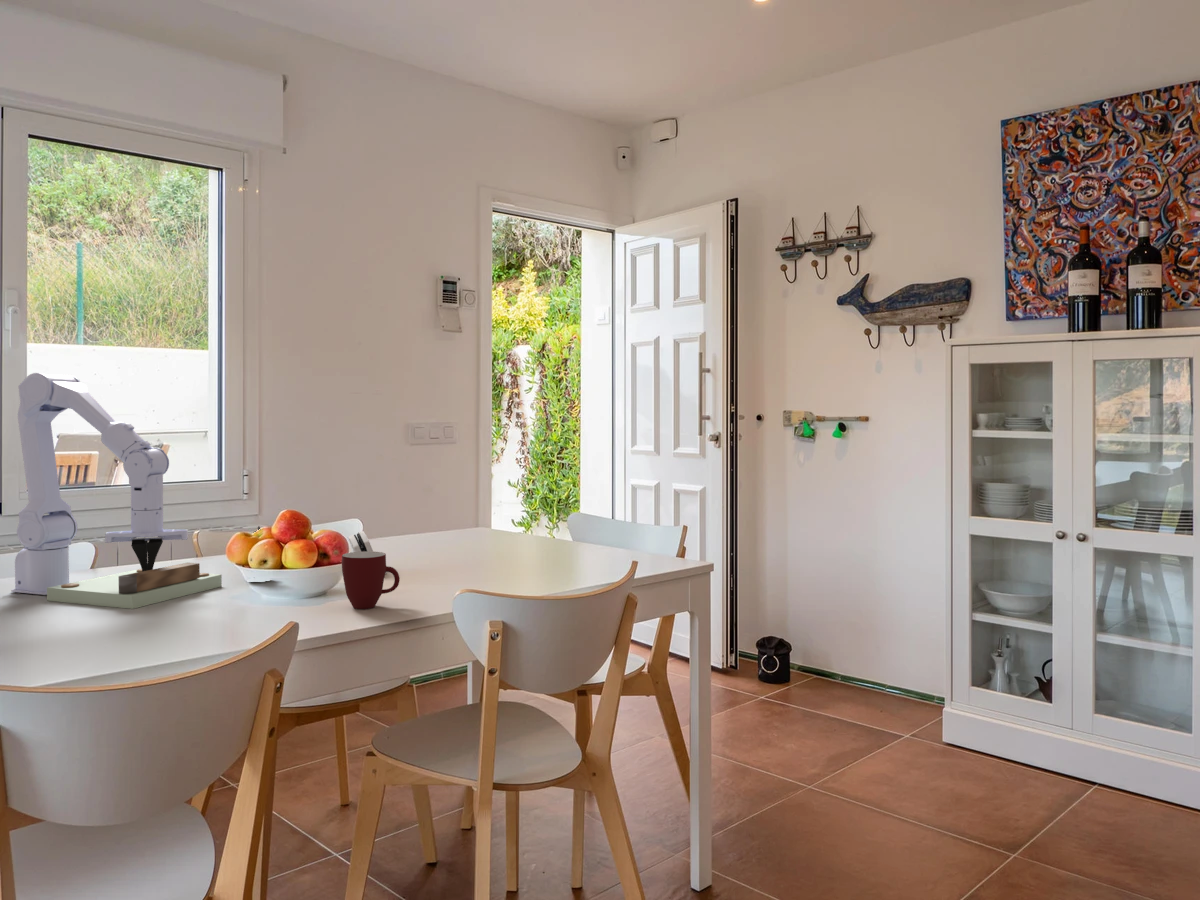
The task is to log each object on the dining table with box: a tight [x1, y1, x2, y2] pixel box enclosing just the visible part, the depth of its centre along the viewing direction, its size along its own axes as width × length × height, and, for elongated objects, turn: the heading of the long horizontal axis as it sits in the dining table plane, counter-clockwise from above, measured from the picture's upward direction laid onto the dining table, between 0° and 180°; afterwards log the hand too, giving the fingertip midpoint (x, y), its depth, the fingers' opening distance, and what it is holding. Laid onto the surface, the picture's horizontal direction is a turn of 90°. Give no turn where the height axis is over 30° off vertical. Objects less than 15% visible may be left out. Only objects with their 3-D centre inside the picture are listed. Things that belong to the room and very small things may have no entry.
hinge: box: [347, 530, 388, 575], centre depth 207 cm, size 17×5×10 cm, turn 20°
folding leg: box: [119, 562, 201, 594], centre depth 171 cm, size 18×3×3 cm, turn 161°
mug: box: [341, 550, 401, 610], centre depth 166 cm, size 10×8×10 cm
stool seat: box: [46, 568, 223, 610], centre depth 177 cm, size 21×23×3 cm
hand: (147, 577), depth 175 cm, fingers closed
